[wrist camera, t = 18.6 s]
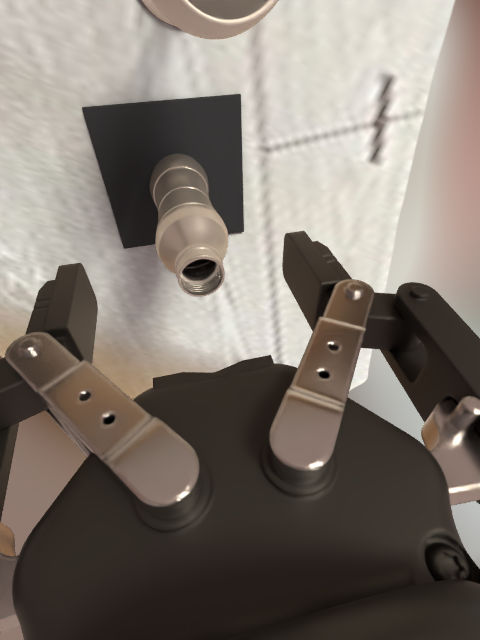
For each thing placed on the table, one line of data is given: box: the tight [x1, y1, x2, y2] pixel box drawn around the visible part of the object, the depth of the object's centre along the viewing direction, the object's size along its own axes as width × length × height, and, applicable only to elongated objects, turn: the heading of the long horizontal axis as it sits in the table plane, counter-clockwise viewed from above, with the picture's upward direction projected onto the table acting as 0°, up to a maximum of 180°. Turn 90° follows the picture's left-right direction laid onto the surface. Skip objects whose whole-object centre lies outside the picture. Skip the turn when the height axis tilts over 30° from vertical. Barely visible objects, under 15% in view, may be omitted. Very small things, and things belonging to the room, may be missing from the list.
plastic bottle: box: [150, 154, 228, 297], centre depth 34 cm, size 6×7×20 cm
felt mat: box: [82, 94, 244, 248], centre depth 41 cm, size 16×16×1 cm
